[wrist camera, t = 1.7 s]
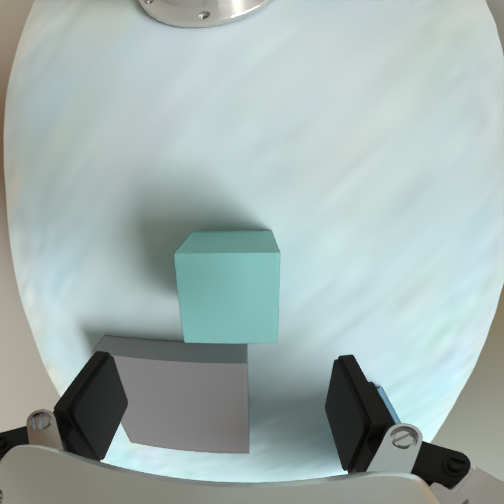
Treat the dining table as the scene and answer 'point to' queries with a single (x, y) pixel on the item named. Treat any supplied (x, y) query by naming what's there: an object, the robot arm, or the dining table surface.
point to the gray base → (183, 393)
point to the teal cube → (229, 287)
